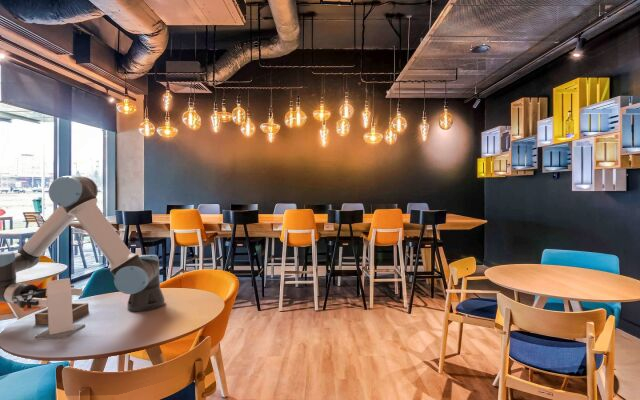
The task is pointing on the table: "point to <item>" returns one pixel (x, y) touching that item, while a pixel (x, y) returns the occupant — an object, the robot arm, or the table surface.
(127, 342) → the table surface
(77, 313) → the walnut holder
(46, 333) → the slate pad
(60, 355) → the table surface
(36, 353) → the table surface
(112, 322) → the table surface
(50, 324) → the milk carton
